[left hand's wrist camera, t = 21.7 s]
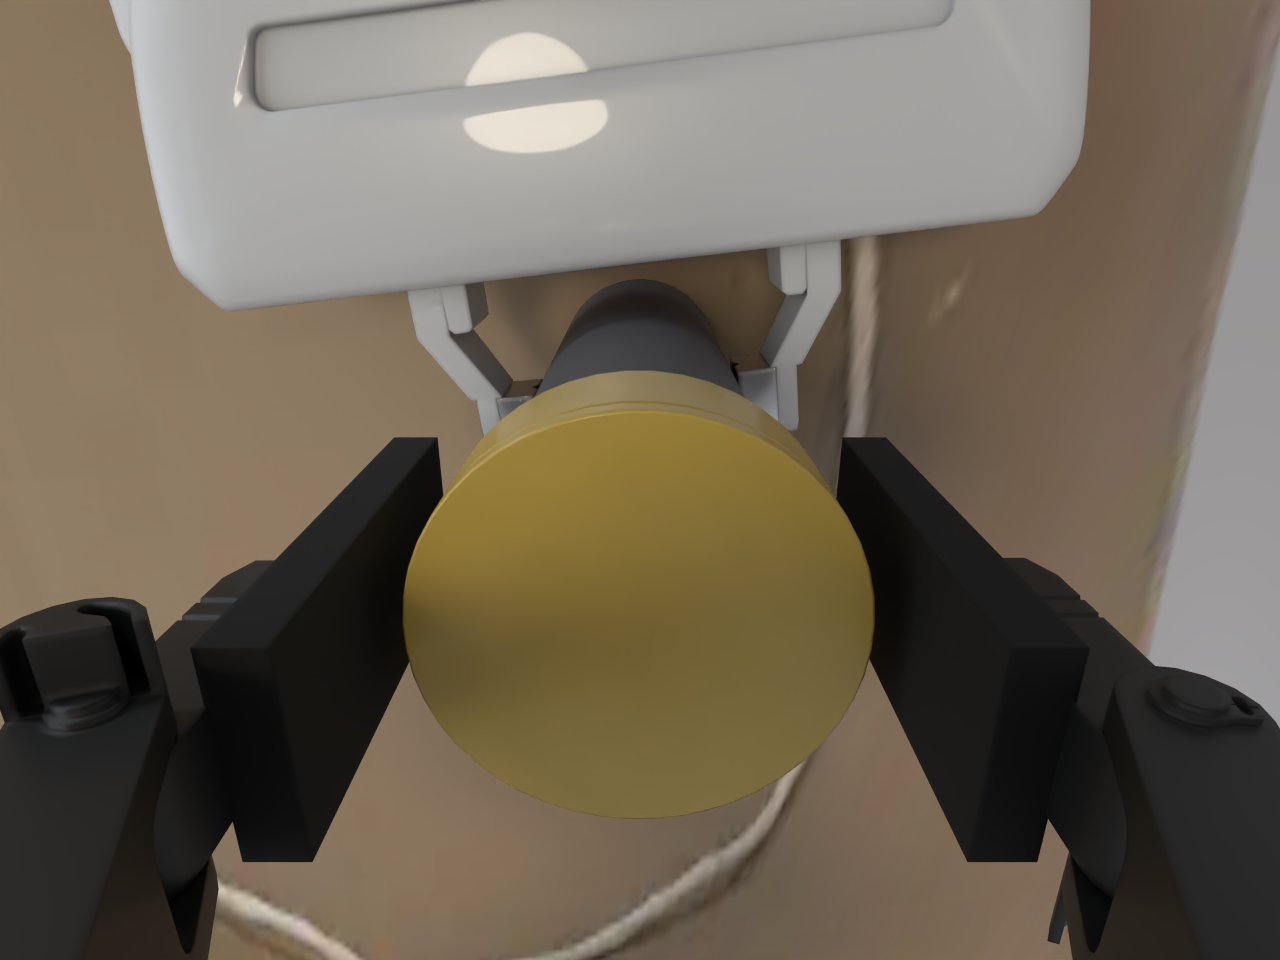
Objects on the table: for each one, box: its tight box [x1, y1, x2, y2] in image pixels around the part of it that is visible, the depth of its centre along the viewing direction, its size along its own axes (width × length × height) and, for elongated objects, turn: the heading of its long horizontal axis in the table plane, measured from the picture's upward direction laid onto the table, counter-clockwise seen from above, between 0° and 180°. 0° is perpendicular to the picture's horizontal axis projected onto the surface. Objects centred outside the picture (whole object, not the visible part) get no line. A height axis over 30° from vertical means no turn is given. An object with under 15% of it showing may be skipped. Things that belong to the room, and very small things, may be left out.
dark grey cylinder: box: [535, 280, 745, 398], centre depth 18 cm, size 5×5×17 cm
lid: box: [402, 371, 875, 819], centre depth 11 cm, size 6×6×2 cm
